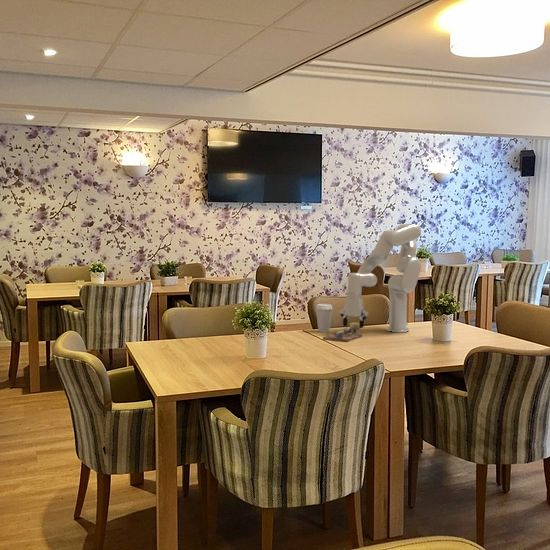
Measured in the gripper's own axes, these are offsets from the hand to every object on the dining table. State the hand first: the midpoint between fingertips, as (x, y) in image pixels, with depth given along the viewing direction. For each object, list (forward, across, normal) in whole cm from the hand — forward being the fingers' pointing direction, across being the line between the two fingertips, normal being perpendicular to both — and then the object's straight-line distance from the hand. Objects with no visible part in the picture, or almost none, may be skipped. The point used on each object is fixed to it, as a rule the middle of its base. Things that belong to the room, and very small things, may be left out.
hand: (353, 326), depth 341 cm
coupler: (+4, +1, +1) cm, 4 cm away
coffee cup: (+5, -17, -1) cm, 18 cm away
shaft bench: (+4, +1, -13) cm, 14 cm away
